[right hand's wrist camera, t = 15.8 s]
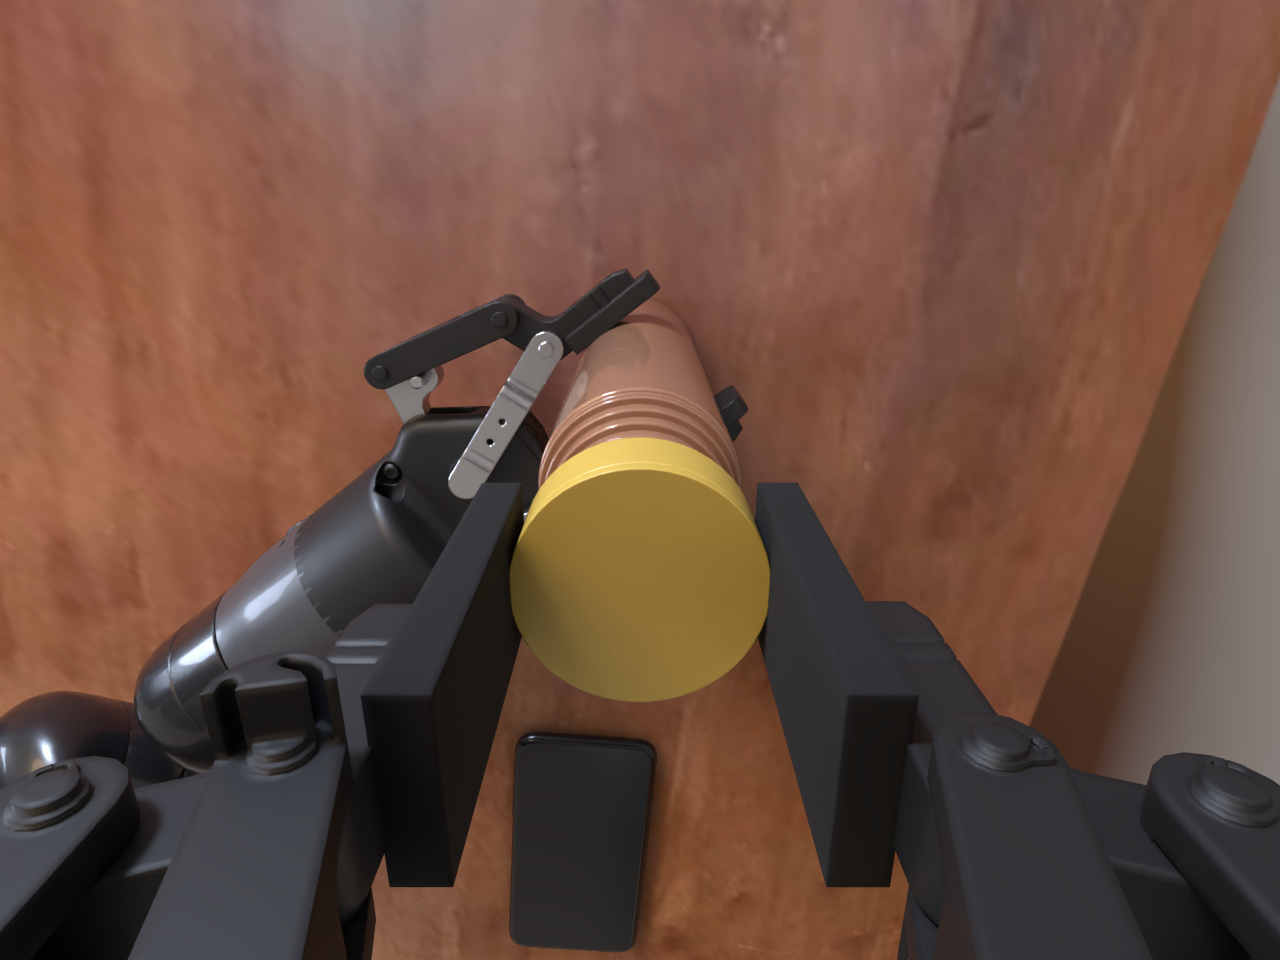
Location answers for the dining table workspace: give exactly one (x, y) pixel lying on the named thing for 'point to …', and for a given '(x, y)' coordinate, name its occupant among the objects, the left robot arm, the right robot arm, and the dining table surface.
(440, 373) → the left robot arm
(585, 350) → the bottle
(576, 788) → the smartphone
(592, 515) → the cap
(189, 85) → the dining table surface
